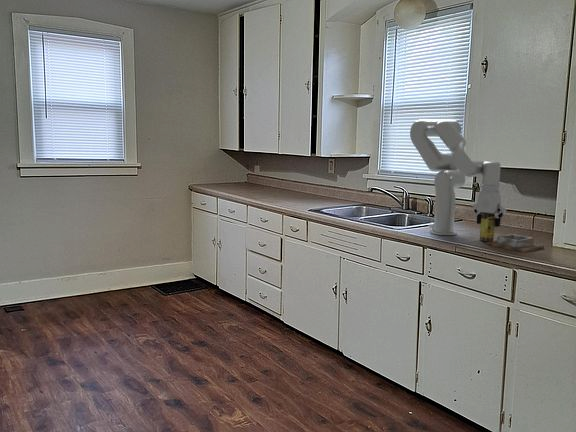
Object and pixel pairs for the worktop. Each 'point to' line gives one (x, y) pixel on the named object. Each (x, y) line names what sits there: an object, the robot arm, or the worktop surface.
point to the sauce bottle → (487, 227)
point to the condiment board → (516, 243)
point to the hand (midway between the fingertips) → (488, 225)
